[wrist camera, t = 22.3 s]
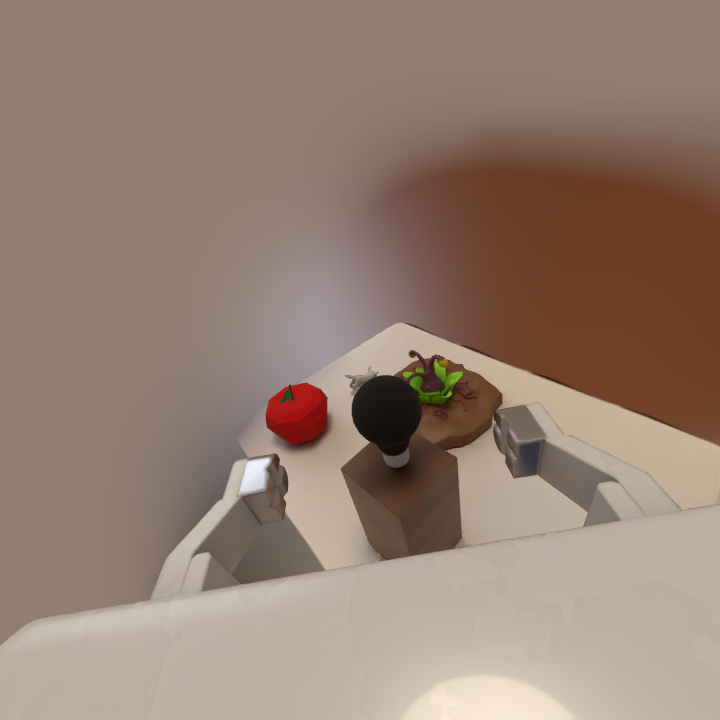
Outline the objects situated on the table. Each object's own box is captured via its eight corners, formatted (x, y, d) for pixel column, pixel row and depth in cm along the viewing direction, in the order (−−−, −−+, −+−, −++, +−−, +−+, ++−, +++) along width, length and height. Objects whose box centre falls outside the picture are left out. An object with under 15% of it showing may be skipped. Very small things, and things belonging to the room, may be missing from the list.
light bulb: (437, 481, 29) (427, 398, 24) (373, 497, 29) (348, 418, 24) (418, 432, 34) (407, 354, 29) (363, 446, 34) (341, 371, 29)
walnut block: (462, 537, 39) (457, 457, 31) (419, 593, 36) (400, 520, 27) (410, 497, 45) (394, 420, 36) (368, 542, 41) (340, 468, 33)
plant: (441, 474, 47) (436, 419, 40) (356, 412, 60) (342, 363, 54) (520, 398, 55) (525, 342, 49) (430, 358, 69) (425, 310, 63)
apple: (293, 406, 65) (275, 366, 60) (342, 410, 62) (328, 368, 56) (265, 449, 58) (242, 408, 52) (320, 457, 54) (301, 413, 48)
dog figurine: (375, 398, 66) (385, 373, 65) (343, 395, 61) (354, 367, 60) (366, 391, 68) (376, 366, 67) (334, 387, 63) (345, 360, 62)
